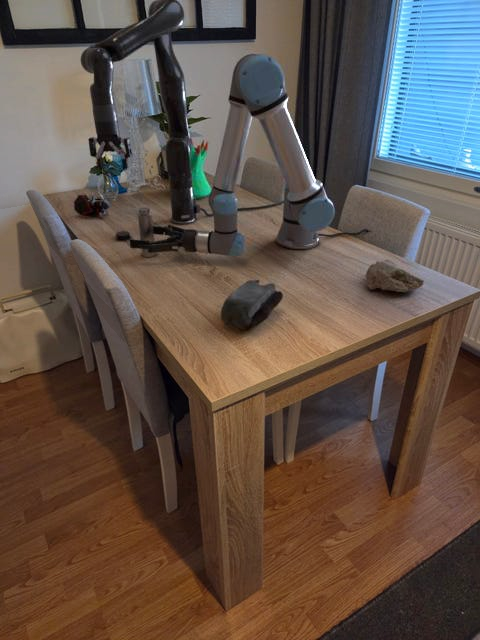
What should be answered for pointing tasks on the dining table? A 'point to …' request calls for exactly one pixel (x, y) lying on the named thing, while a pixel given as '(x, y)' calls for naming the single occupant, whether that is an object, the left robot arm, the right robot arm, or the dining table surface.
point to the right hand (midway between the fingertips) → (138, 236)
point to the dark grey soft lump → (250, 304)
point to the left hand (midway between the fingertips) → (113, 169)
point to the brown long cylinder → (146, 228)
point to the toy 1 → (90, 206)
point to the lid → (123, 235)
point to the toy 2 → (198, 170)
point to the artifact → (391, 277)
